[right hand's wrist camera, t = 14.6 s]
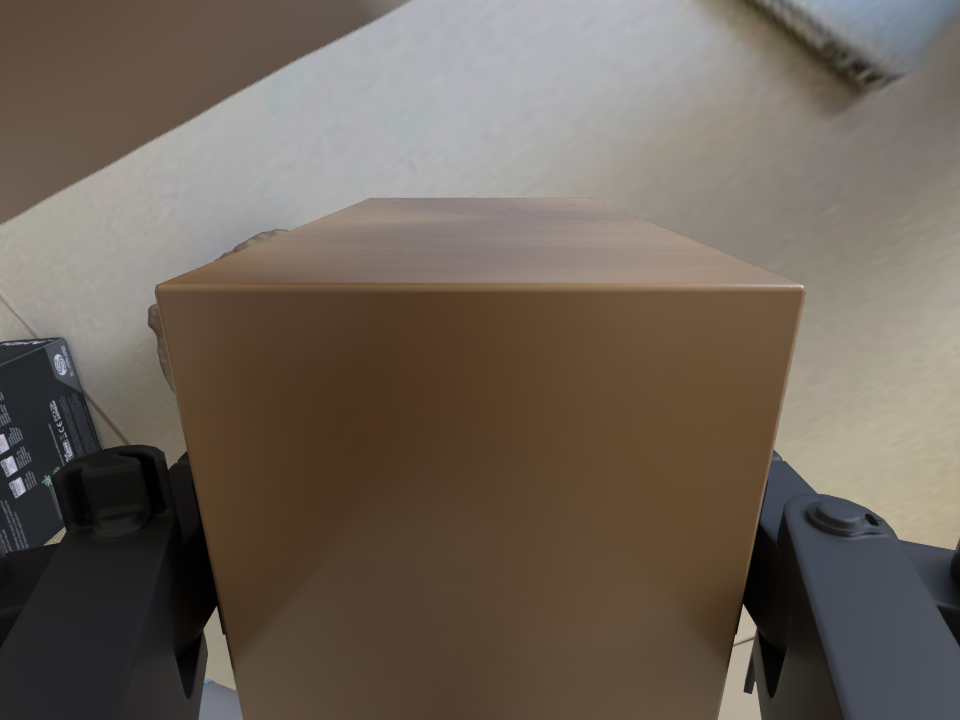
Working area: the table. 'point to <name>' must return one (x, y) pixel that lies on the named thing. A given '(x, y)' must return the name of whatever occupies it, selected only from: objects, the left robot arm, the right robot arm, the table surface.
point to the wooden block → (480, 458)
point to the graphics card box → (37, 437)
